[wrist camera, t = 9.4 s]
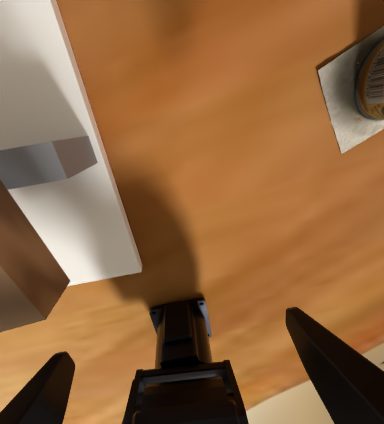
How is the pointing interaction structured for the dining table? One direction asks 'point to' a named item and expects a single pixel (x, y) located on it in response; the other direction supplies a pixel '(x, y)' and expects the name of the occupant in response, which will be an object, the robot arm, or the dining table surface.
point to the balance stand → (58, 148)
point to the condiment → (356, 91)
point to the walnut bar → (25, 269)
